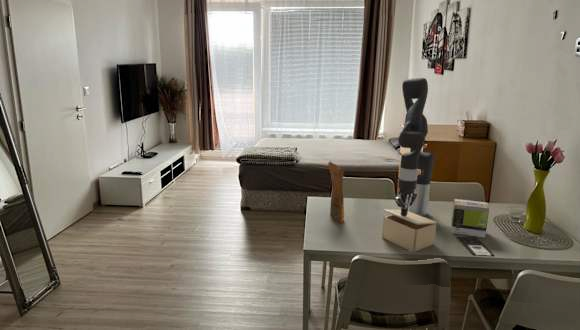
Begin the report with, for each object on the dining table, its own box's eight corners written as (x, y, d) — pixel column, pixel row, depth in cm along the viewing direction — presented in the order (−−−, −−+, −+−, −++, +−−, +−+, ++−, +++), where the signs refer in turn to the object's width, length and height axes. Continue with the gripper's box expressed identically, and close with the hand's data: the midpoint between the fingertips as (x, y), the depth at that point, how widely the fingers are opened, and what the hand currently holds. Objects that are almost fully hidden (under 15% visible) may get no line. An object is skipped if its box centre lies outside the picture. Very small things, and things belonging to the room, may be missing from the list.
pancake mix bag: (333, 224, 208) (336, 169, 201) (324, 210, 226) (327, 159, 219) (346, 224, 209) (350, 169, 202) (337, 210, 227) (340, 159, 220)
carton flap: (403, 210, 201) (403, 209, 201) (436, 223, 186) (437, 222, 186) (383, 210, 192) (383, 209, 192) (417, 224, 177) (417, 222, 177)
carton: (401, 230, 203) (403, 211, 201) (434, 244, 189) (436, 223, 187) (381, 237, 195) (383, 217, 193) (413, 252, 181) (416, 230, 179)
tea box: (483, 230, 207) (487, 201, 203) (485, 238, 197) (490, 208, 194) (450, 226, 211) (454, 197, 207) (450, 233, 202) (454, 204, 198)
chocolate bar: (476, 237, 198) (494, 254, 180) (475, 238, 198) (493, 256, 180) (456, 236, 198) (473, 254, 180) (456, 238, 198) (472, 256, 180)
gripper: (410, 173, 189) (406, 210, 193) (390, 177, 181) (387, 216, 185) (424, 177, 183) (420, 215, 187) (404, 182, 175) (400, 221, 180)
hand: (403, 215), depth 186 cm, fingers closed
